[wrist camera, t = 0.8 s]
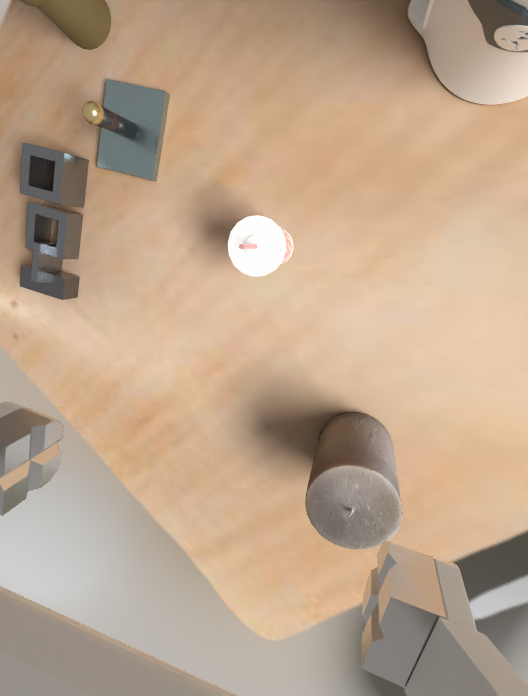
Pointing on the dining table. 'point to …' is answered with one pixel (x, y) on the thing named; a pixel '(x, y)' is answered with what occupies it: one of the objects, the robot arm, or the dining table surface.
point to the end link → (53, 175)
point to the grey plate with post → (129, 128)
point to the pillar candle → (354, 483)
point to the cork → (78, 19)
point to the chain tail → (51, 251)
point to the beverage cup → (259, 245)
